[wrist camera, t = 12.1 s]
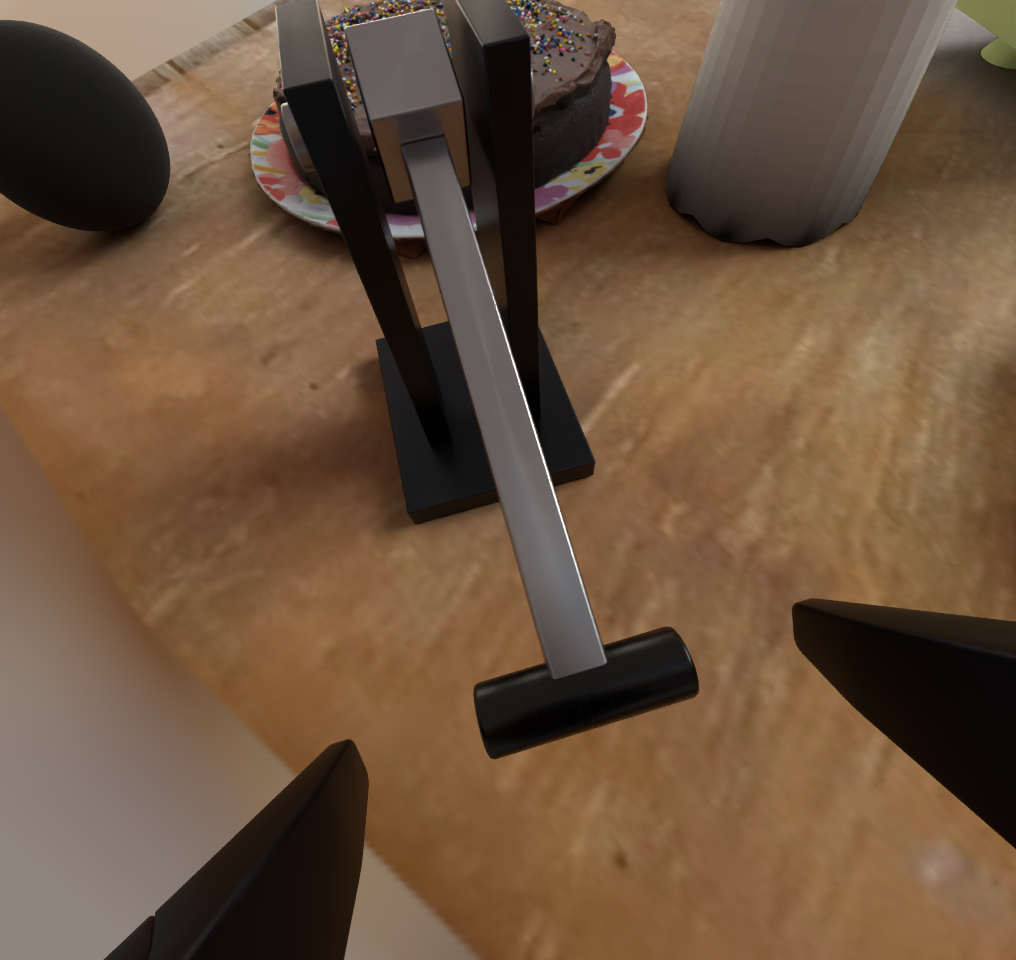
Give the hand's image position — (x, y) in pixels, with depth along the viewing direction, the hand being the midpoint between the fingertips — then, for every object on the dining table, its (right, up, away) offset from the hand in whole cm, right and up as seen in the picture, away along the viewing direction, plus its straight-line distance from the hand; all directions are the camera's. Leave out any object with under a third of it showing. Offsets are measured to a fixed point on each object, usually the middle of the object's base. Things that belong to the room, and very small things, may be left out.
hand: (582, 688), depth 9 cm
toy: (+14, +22, +20) cm, 33 cm away
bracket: (-3, +7, +14) cm, 16 cm away
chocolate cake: (-6, +29, +26) cm, 39 cm away
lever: (-2, +7, +2) cm, 7 cm away
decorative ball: (-27, +22, +24) cm, 42 cm away
